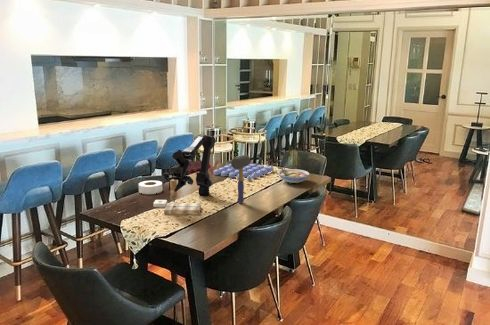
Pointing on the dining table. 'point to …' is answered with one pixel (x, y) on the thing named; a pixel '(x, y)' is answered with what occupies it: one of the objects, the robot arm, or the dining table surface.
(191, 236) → the dining table surface
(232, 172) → the purple egg tray
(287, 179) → the ramen bowl
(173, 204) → the beige flat rectangular piece
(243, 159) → the rubber mallet
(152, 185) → the roll of tape
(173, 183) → the awl
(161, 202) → the awl holder
